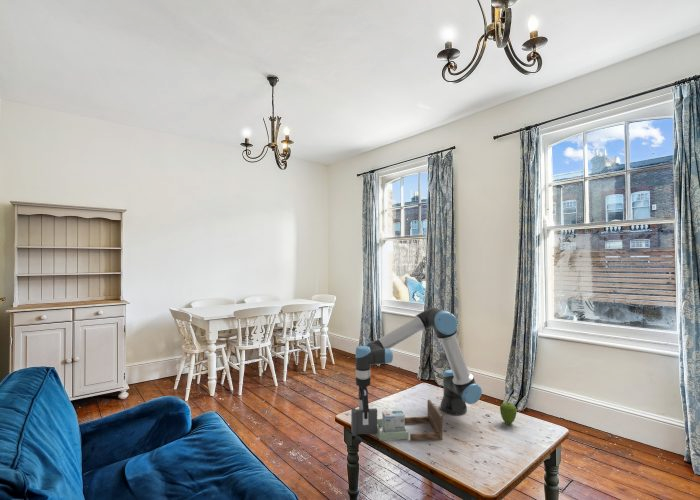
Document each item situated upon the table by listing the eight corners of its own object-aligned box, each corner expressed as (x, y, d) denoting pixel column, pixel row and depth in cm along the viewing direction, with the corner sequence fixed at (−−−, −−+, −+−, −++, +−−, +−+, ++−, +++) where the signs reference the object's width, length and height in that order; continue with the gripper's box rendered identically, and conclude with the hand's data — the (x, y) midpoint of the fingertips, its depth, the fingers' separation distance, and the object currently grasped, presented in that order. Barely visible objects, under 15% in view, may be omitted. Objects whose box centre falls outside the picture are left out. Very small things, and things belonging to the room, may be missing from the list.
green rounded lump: (517, 428, 192) (517, 406, 192) (500, 425, 195) (500, 404, 196) (516, 421, 200) (516, 400, 200) (499, 418, 204) (499, 398, 204)
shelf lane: (429, 421, 200) (429, 399, 200) (442, 439, 181) (442, 415, 181) (401, 422, 198) (401, 400, 198) (411, 441, 179) (411, 417, 179)
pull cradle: (400, 424, 196) (400, 401, 196) (408, 438, 181) (408, 414, 181) (350, 426, 193) (350, 403, 193) (353, 441, 178) (353, 417, 178)
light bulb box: (401, 429, 191) (401, 409, 191) (405, 436, 184) (405, 414, 184) (381, 431, 189) (381, 410, 189) (384, 437, 182) (384, 416, 182)
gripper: (353, 369, 198) (353, 408, 198) (359, 386, 173) (359, 430, 173) (366, 368, 199) (367, 407, 199) (374, 385, 174) (375, 429, 174)
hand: (363, 418), depth 186 cm, fingers open, 13 cm apart
